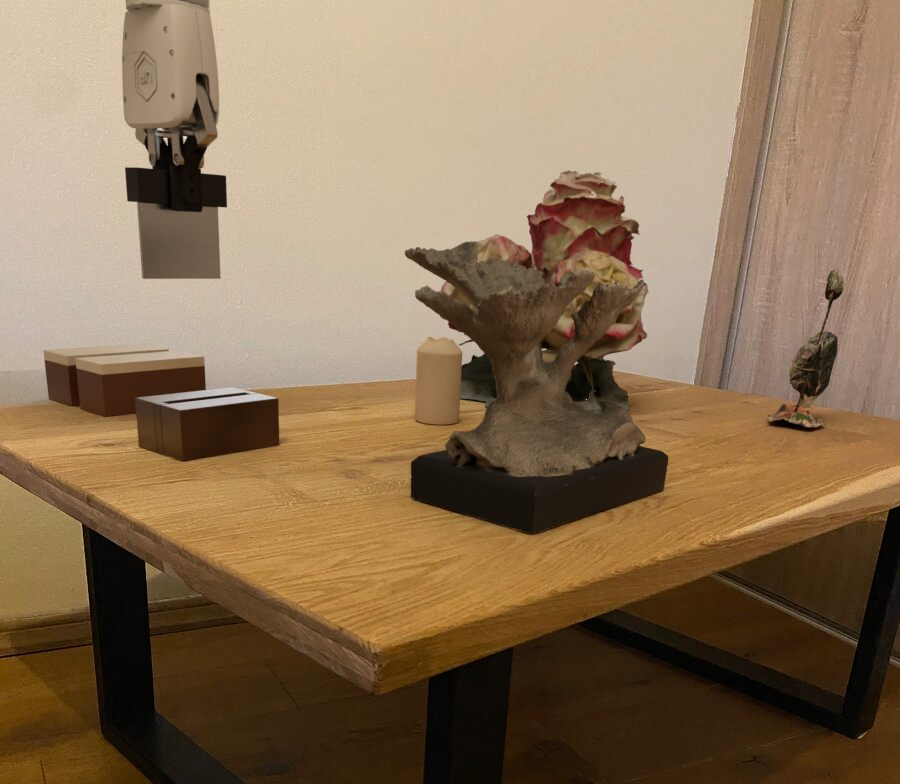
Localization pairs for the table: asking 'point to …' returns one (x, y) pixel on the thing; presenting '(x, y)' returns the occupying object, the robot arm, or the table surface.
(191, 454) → the brown wooden slotted box
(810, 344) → the plant with pod
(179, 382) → the wooden blocks
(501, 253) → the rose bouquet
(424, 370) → the candle
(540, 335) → the coral
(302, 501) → the table surface
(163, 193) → the dark piece
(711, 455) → the table surface
